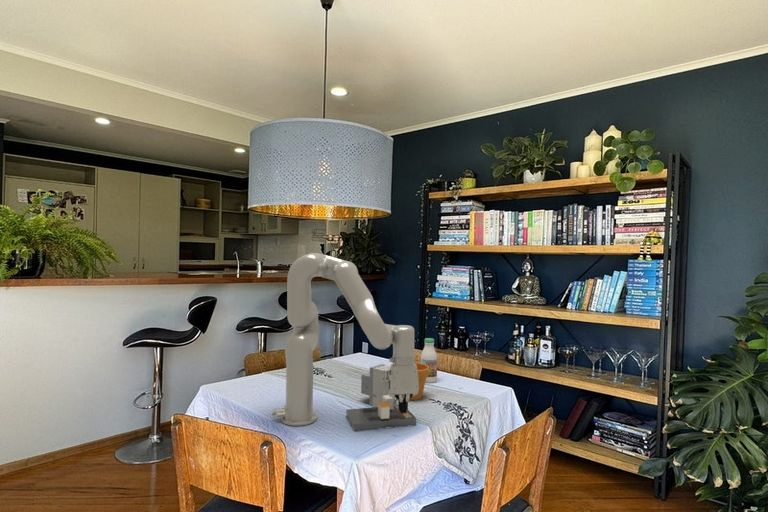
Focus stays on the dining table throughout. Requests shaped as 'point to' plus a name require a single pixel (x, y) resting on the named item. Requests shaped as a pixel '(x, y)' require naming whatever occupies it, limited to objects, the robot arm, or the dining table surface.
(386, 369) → the circuit breaker
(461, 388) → the dining table surface
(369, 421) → the slotted slider board
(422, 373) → the flower pot
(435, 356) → the milk bottle
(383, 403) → the lever
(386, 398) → the on lever
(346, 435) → the dining table surface
